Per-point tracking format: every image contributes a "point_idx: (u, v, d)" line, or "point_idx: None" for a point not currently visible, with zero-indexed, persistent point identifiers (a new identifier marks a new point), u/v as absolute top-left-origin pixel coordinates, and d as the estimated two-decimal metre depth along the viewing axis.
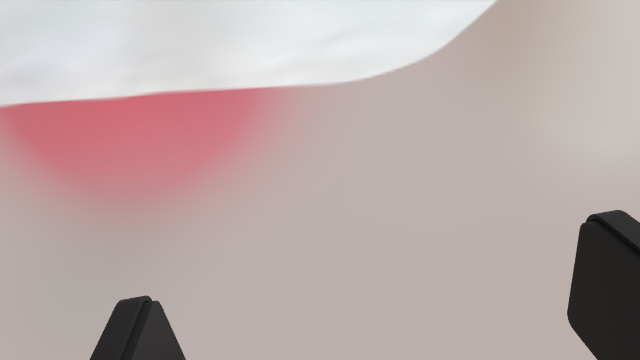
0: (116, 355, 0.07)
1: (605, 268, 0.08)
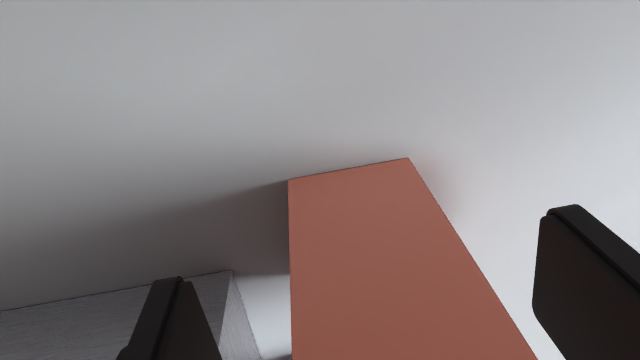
0: (158, 329, 0.08)
1: (561, 260, 0.09)
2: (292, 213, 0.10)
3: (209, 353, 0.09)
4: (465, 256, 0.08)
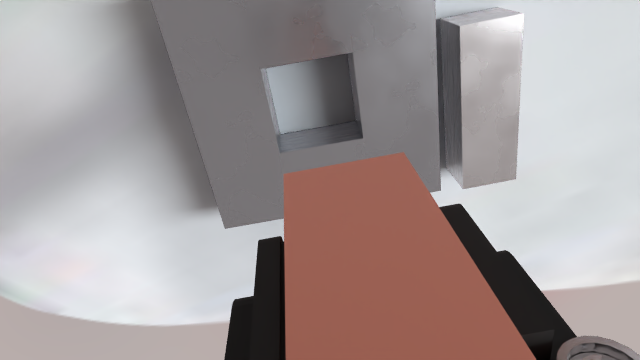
0: (278, 277, 0.08)
1: None
2: (287, 207, 0.10)
3: None
4: (458, 247, 0.08)
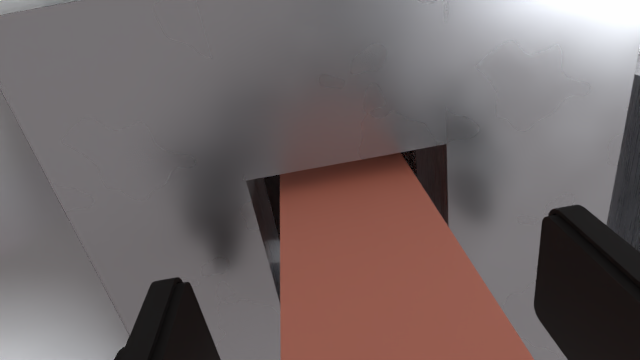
0: (156, 330, 0.08)
1: (563, 260, 0.09)
2: (282, 174, 0.12)
3: (208, 354, 0.09)
4: (425, 199, 0.09)
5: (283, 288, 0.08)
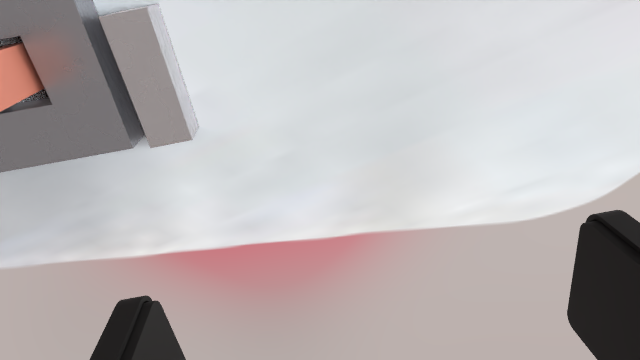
0: (116, 355, 0.07)
1: (605, 268, 0.08)
2: None
3: None
4: None
5: None
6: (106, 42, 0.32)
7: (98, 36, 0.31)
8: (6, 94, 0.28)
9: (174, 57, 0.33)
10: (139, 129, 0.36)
